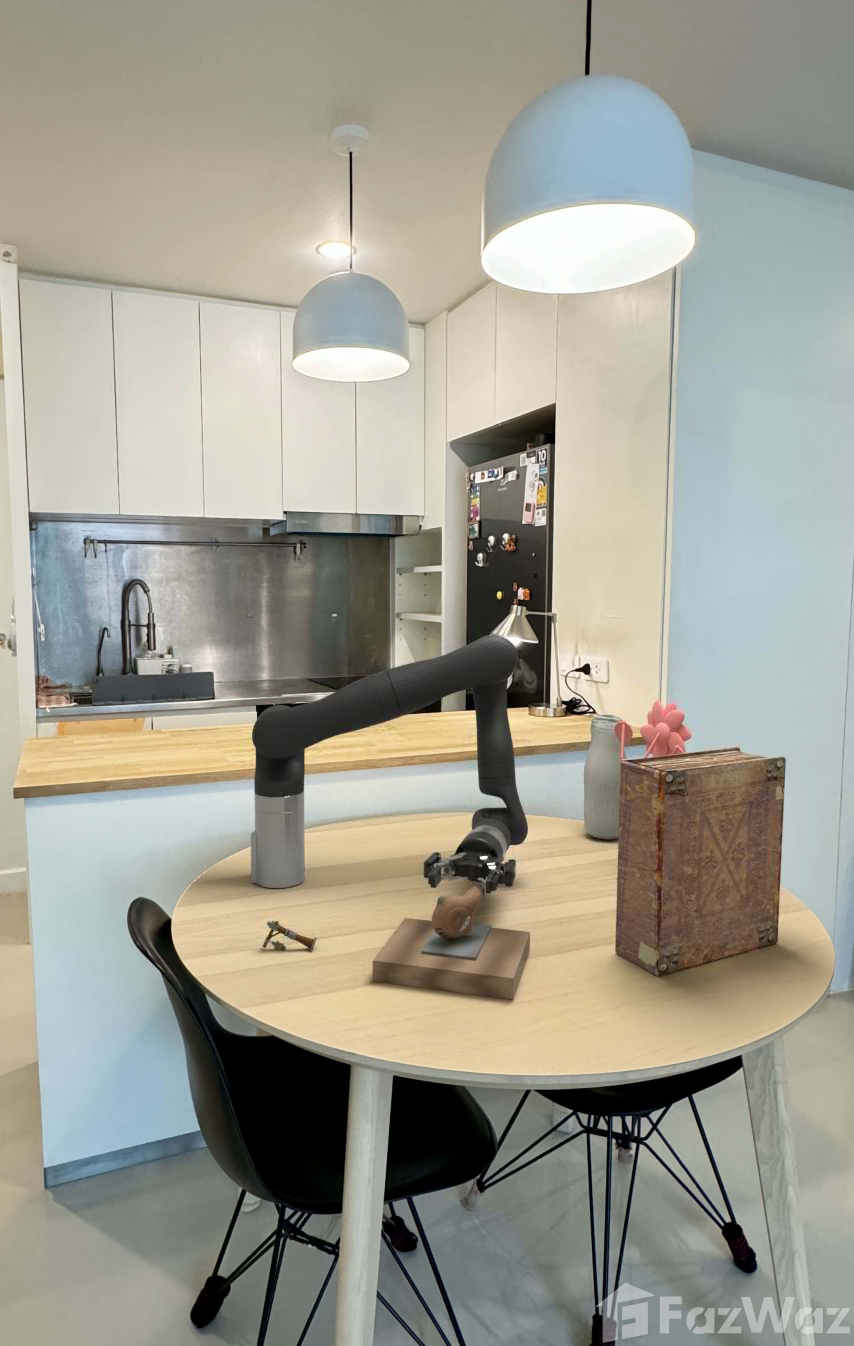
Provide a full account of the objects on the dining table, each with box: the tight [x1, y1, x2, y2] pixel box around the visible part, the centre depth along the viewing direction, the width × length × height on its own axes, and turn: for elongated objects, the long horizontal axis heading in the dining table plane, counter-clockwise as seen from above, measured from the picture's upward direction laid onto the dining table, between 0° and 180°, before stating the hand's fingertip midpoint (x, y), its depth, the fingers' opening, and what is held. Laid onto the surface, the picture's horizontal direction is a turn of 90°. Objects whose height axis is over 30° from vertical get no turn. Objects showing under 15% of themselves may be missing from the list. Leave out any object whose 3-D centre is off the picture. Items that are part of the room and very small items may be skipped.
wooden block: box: [372, 917, 531, 1001], centre depth 122 cm, size 20×16×3 cm
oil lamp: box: [431, 882, 486, 939], centre depth 123 cm, size 9×4×8 cm, turn 119°
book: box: [614, 746, 787, 978], centre depth 127 cm, size 25×9×30 cm, turn 118°
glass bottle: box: [583, 714, 628, 840], centre depth 185 cm, size 10×10×28 cm
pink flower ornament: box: [614, 699, 692, 761], centre depth 156 cm, size 15×26×35 cm, turn 25°
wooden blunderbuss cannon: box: [262, 920, 318, 953], centre depth 127 cm, size 2×8×4 cm, turn 90°
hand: (460, 884), depth 125 cm, fingers open, 8 cm apart
